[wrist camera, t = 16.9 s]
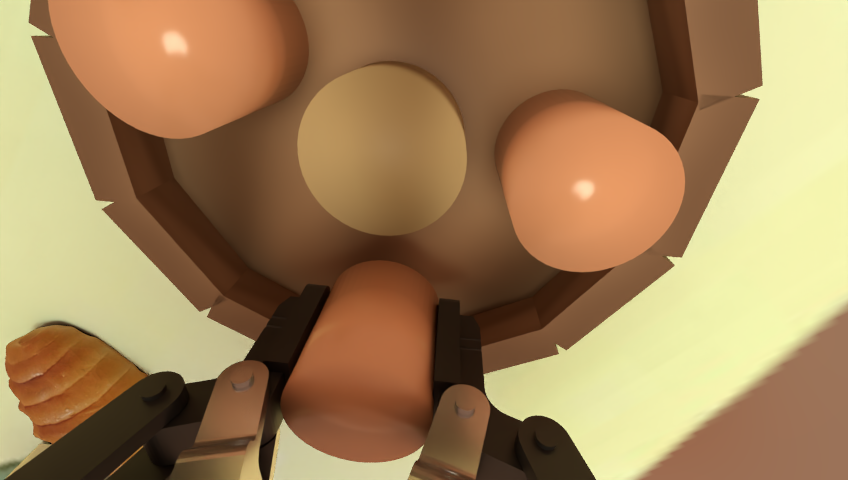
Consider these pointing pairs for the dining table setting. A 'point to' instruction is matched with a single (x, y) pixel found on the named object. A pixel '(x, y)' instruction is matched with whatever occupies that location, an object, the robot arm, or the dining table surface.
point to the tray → (473, 244)
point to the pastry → (65, 378)
